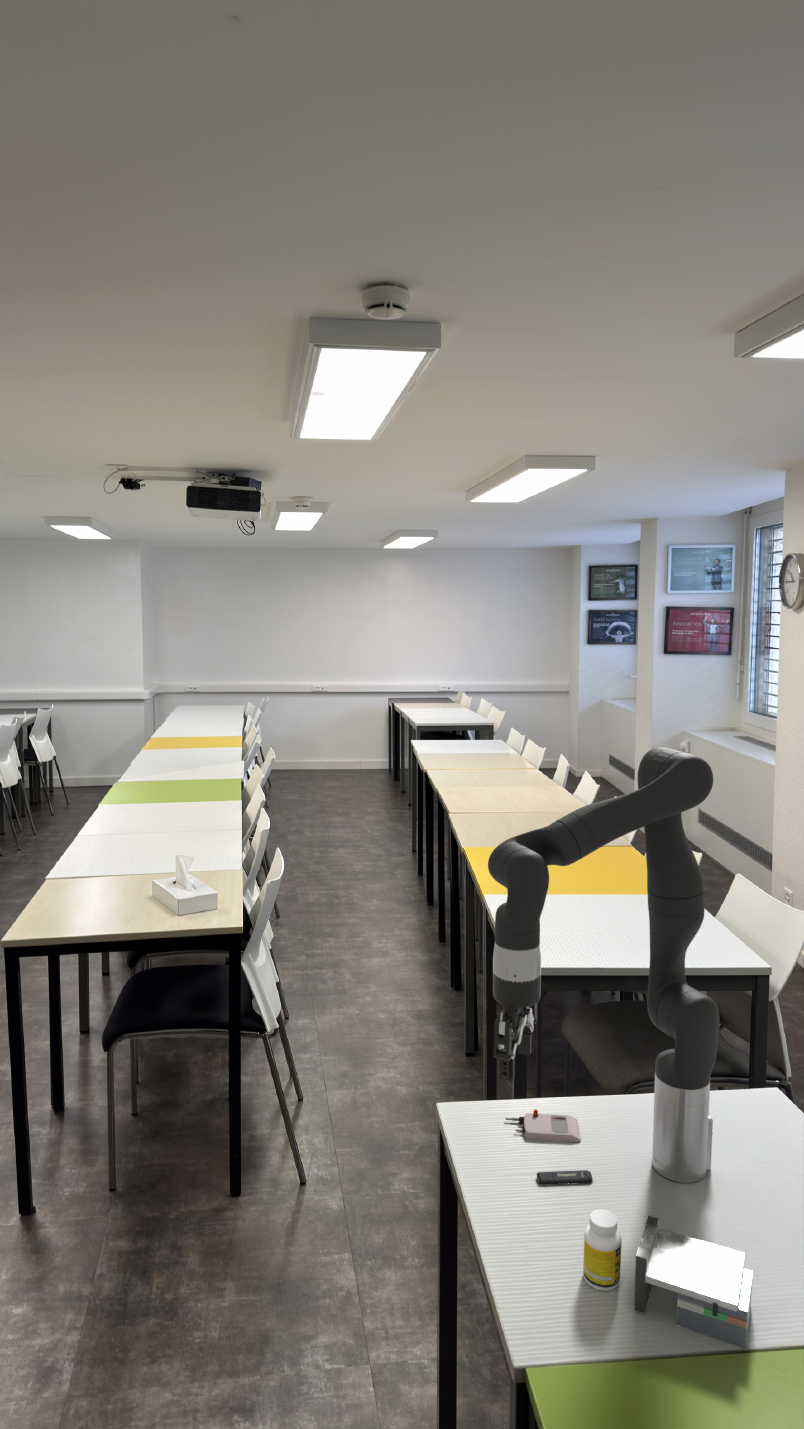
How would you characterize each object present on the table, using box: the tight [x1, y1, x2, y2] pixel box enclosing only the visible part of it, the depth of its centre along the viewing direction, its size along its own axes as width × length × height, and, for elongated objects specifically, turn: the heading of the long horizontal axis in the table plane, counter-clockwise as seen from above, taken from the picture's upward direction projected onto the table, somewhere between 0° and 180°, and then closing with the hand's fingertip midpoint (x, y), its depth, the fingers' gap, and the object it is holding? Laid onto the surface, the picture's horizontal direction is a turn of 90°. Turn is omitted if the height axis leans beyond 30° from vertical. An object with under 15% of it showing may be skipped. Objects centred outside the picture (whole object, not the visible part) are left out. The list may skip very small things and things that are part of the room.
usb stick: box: [536, 1169, 593, 1186], centre depth 154 cm, size 10×3×2 cm, turn 92°
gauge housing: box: [676, 1267, 754, 1349], centre depth 125 cm, size 9×8×6 cm
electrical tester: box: [504, 1109, 582, 1143], centre depth 169 cm, size 7×16×3 cm, turn 84°
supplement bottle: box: [582, 1208, 622, 1291], centre depth 132 cm, size 5×5×10 cm
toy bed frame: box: [633, 1214, 746, 1317], centre depth 126 cm, size 14×10×8 cm
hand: (515, 1065), depth 142 cm, fingers open, 8 cm apart
